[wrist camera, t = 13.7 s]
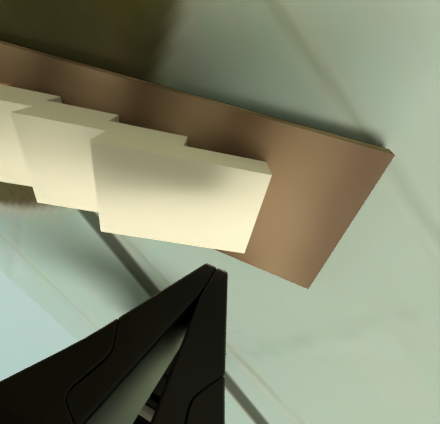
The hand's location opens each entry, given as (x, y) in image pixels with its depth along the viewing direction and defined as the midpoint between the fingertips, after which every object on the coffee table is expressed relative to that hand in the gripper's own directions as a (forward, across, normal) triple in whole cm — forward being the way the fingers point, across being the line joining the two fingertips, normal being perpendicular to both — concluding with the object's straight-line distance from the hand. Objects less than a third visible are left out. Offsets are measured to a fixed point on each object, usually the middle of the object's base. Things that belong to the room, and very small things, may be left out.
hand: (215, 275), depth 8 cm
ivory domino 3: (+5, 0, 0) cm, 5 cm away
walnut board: (+7, +8, 0) cm, 11 cm away
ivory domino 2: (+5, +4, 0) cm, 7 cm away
